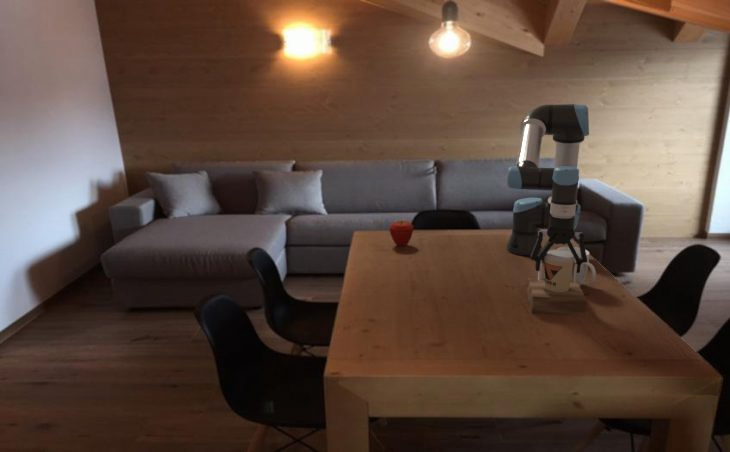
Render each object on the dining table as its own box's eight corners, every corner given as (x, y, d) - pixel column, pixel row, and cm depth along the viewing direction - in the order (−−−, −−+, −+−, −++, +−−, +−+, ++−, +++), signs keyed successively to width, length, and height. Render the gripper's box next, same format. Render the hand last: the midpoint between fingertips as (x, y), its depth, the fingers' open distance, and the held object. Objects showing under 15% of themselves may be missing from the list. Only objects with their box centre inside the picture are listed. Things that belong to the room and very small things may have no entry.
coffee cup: (535, 285, 168) (538, 251, 165) (557, 281, 171) (560, 247, 168) (555, 295, 160) (558, 259, 157) (577, 290, 163) (581, 255, 160)
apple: (390, 241, 238) (390, 217, 234) (413, 242, 236) (413, 217, 233) (388, 249, 227) (388, 223, 224) (412, 249, 226) (412, 224, 222)
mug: (602, 289, 179) (606, 255, 175) (583, 296, 173) (587, 261, 169) (565, 277, 191) (568, 244, 187) (547, 283, 185) (550, 250, 181)
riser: (526, 293, 176) (527, 277, 175) (574, 296, 173) (576, 280, 171) (531, 313, 161) (533, 296, 160) (584, 317, 158) (586, 299, 156)
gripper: (526, 217, 157) (521, 283, 164) (603, 219, 153) (595, 287, 159) (524, 211, 164) (519, 274, 171) (597, 213, 160) (590, 278, 166)
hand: (556, 280), depth 165 cm, fingers open, 10 cm apart
